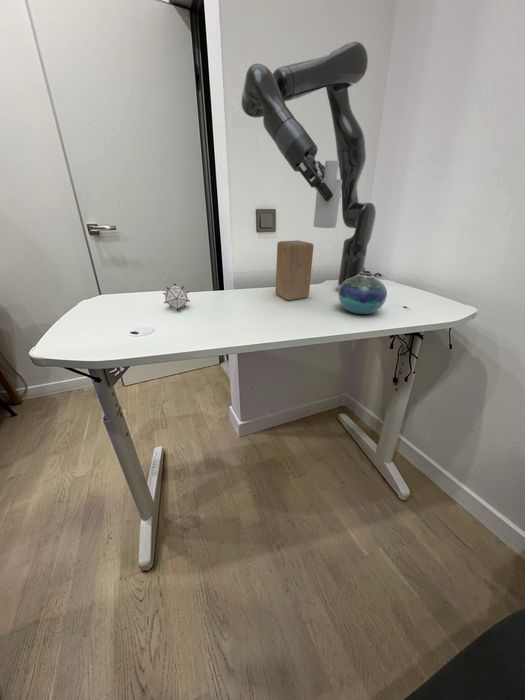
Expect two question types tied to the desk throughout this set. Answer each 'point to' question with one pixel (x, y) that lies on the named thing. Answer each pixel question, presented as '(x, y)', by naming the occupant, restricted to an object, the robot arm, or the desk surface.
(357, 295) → the vase
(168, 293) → the grey spiked polyhedron
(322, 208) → the flask
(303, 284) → the wooden block
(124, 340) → the desk surface
